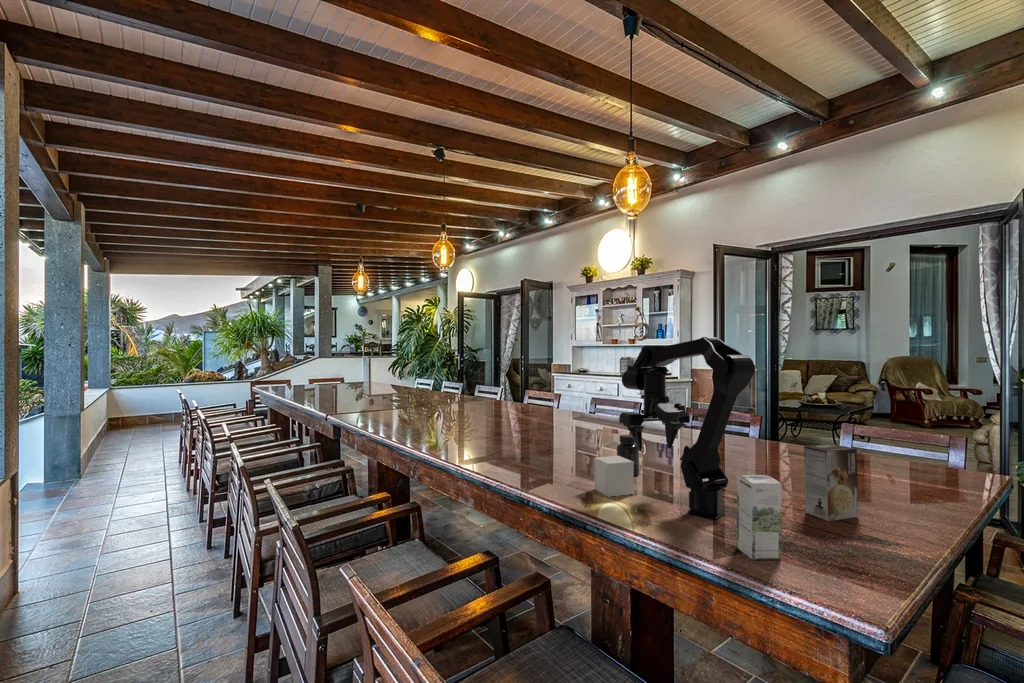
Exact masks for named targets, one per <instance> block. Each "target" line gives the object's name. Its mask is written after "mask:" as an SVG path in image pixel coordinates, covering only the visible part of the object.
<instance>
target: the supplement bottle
mask: <svg viewBox="0 0 1024 683" xmlns="http://www.w3.org/2000/svg"><path fill="white" fill-rule="evenodd" d="M616 456H620V457H623V458H625V459H628V460H630V461H633V462H634V477H637V476H639V475H640V451H639V450H638V449H637V446H636V444H635V442H634V439H633V437H632V435H631V434H621V435H619V443H618V444H617V445H616ZM636 475H637V476H636Z"/></svg>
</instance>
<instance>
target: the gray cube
mask: <svg viewBox="0 0 1024 683" xmlns="http://www.w3.org/2000/svg"><path fill="white" fill-rule="evenodd" d="M593 459H594V460H593V461H594V464H593V465H594V466H593V467H594V469H593V470H594V472H593V473H594V474H593V475H594V476H593V477H594V479H593V480H594V481H593V482H594V486H593V487H594V490H595V489H596V490H595V491H597V490H598V491H599V492H598V491H597V492H598V493H600V492H601V493H600V494H602V493H603V494H604V495H603V494H602V495H603V496H605V495H606V496H605V497H607V496H608V497H607V498H612V497H611V496H616V497H622V496H621V495H625V496H631V495H630V494H634V493H635V491H634V483H635V482H634V480H635V478H634V477H635V476H634V462H633V461H630V460H628V459H625V458H623V457H620V456H617V455H611V456H609V455H608V456H600V457H598V456H597V457H594V458H593Z"/></svg>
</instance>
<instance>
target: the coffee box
mask: <svg viewBox="0 0 1024 683" xmlns="http://www.w3.org/2000/svg"><path fill="white" fill-rule="evenodd" d="M803 450H804V451H803V452H804V491H805V492H804V493H805V495H804V496H805V501H804V502H805V514H808V513H809V515H811V516H813V515H814V517H815V518H819V519H821V518H822V520H824V521H827V522H832V521H838V520H839V521H841V520H847V519H856V518H859V488H858V487H859V482H858V480H859V477H858V448H854V447H849V446H844V445H839V444H833V443H832V444H816V445H804V447H803Z"/></svg>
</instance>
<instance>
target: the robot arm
mask: <svg viewBox="0 0 1024 683" xmlns="http://www.w3.org/2000/svg"><path fill="white" fill-rule="evenodd" d="M698 356H703V358H704V362H705V363H706V365H707V366H708V367H709V368H710V369H712V375H711V379H712V383H713V389H714V390H713V392H712V396H711V398H710V401H709V404H708V407H707V410H706V413H705V415H704V419H703V421H702V425H701V428H700V431H699V434H698V436H697V439H696V442H695V443H694V444H686V445H685V446H684V448H683V452H682V455H681V457H680V458H679V460H680V469H681V474H682V476H683V477H682V478H683V480H684V484H685V487H686V488H687V489H690V490H689V491H688V508H689V510H688V511H687V513H688V514H691V515H693V516H698V517H702V518H706V519H711V520H717V519H718V518H719V517H721V516H723V515H724V514H725V513H726V511H725V510H723V488H724V489H725V488H727V487H728V484H729V478H728V477H727V476H726V474H725V473H724V471H723V470H722V468H721V467H720V465H721V456H720V452H719V448H720V447H719V446H720V444H721V441H722V438H723V436H724V433H725V430H726V427H727V425H728V421H729V420H730V416H731V414H732V411H733V408H734V404H735V402H736V399H737V397H738V395H740V393H741V392H742V391H743V390H744V389H745V388H747V387H748V385H749V383H750V382H751V380H752V378H753V376H754V375H755V372H756V364H755V363H754V360H752V358H751V357H750V356H749V355H745V354H743V353H742V352H740V351H739V350H737V349H736V348H733V347H732V346H730V345H728V344H727V343H725V342H724V341H723V340H721V339H720V338H718V337H716V336H715V337H714V336H702V337H701V338H698V339H692V340H687V341H684V342H679V343H678V342H677V343H674V344H670V345H643V346H642V347H641V348H640V352H639V354H638V355H637V357H636V360H635V361H634V363H633V365H627V369H626V370H625V371H624V372H623V374H622V377H621V383H622V386H623V387H624V388H625V389H627V390H634V391H637V390H638V391H643V394H640V399H642V400H643V409H640V413H639V412H634V411H626V412H625V411H624V412H620V414H619V418H618V419H619V420H618V423H620V424H622V425H623V426H624V427H626V428H627V430H628V431H629V433H630V435H632V437H633V439H634V442H635V444H636V446H637V449H638V450H639V452H641V451H642V449H643V430H644V428H645V426H643V425H642V424H643V423H644V422H659V421H660V422H661V423H663V424H664V432H665V438H666V446H667V449H669V450H671V449H672V448H673V444H674V442H675V439H676V437H677V434H678V432H679V430H680V429H681V428H682V427H685V426H686V425H687V424H688V423H689V424H690V423H691V416H690V414H689V413H688V411H686V405H685V404H684V403H683V402H675V403H670V402H671V401H670V398H669V395H667V394H666V393H667V391H666V388H667V387H666V385H667V384H666V383H667V382H666V381H667V380H666V379H667V378H666V376H672V375H673V374H672V371H670V369H668V368H667V366H668V365H670V364H673V363H674V362H675V361H677V360H681V359H686V358H687V359H688V358H693V357H694V358H695V357H698ZM706 479H707V480H706Z"/></svg>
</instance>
